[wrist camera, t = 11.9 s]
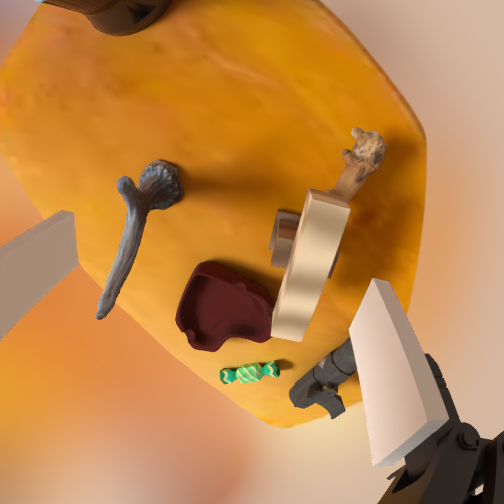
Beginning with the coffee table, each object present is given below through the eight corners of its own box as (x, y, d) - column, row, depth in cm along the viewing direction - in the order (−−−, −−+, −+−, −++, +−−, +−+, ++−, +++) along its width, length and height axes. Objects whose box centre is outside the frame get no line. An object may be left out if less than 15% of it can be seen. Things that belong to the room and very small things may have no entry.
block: (308, 187, 31) (312, 199, 27) (341, 196, 31) (350, 209, 27) (272, 312, 39) (270, 336, 35) (300, 318, 39) (300, 342, 35)
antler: (135, 172, 41) (15, 231, 19) (174, 149, 39) (55, 190, 16) (168, 234, 45) (79, 334, 23) (208, 216, 43) (132, 319, 20)
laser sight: (383, 336, 49) (395, 373, 40) (313, 395, 59) (314, 430, 50) (348, 316, 48) (357, 355, 39) (279, 381, 58) (276, 418, 49)
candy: (274, 357, 53) (276, 377, 51) (278, 360, 56) (280, 378, 54) (219, 366, 56) (220, 384, 54) (226, 368, 59) (227, 385, 57)
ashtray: (254, 240, 44) (250, 254, 40) (287, 319, 50) (286, 338, 45) (160, 271, 49) (149, 286, 44) (201, 339, 54) (195, 356, 50)
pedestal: (277, 209, 41) (275, 228, 34) (336, 223, 41) (346, 245, 34) (269, 245, 44) (265, 271, 37) (324, 258, 44) (331, 285, 36)
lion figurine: (344, 121, 34) (361, 120, 26) (377, 138, 35) (401, 143, 27) (303, 212, 41) (308, 235, 33) (335, 226, 41) (347, 252, 33)
